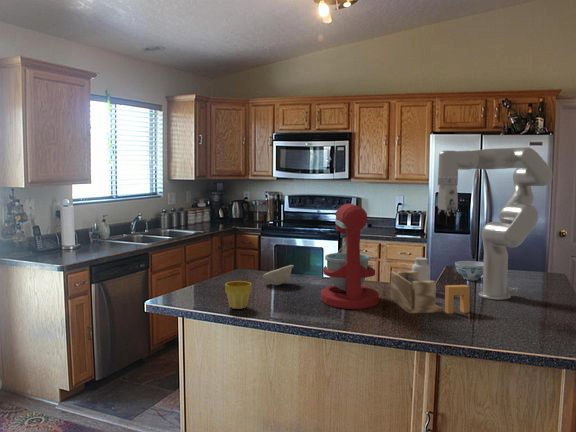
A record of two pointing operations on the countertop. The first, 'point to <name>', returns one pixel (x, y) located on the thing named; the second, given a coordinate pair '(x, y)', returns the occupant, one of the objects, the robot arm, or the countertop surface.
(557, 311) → the countertop surface
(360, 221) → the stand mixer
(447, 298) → the upright wooden block
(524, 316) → the countertop surface
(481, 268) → the chinaware
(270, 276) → the bowl
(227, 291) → the plant pot
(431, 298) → the wooden vise
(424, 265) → the pill bottle
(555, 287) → the countertop surface
